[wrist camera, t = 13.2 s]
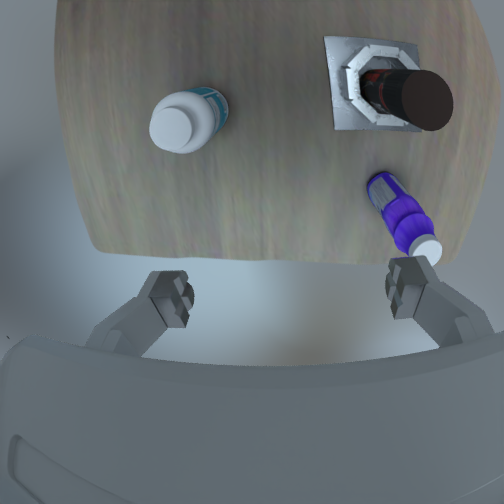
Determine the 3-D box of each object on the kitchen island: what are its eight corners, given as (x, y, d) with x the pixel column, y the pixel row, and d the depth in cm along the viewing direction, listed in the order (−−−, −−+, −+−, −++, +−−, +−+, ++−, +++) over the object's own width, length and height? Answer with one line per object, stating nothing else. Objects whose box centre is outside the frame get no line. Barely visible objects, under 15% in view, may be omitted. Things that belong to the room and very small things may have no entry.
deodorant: (401, 80, 27) (460, 90, 15) (389, 114, 31) (441, 141, 19) (364, 62, 27) (411, 58, 15) (353, 98, 31) (393, 114, 19)
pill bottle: (171, 118, 36) (126, 141, 25) (197, 77, 32) (157, 81, 21) (212, 143, 38) (181, 175, 27) (240, 104, 34) (219, 118, 23)
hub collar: (323, 37, 26) (329, 31, 22) (415, 45, 24) (432, 43, 19) (334, 129, 34) (341, 137, 30) (419, 131, 32) (436, 140, 28)
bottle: (358, 183, 39) (395, 250, 25) (386, 162, 36) (437, 220, 22) (381, 214, 41) (417, 287, 28) (407, 196, 39) (455, 262, 25)
